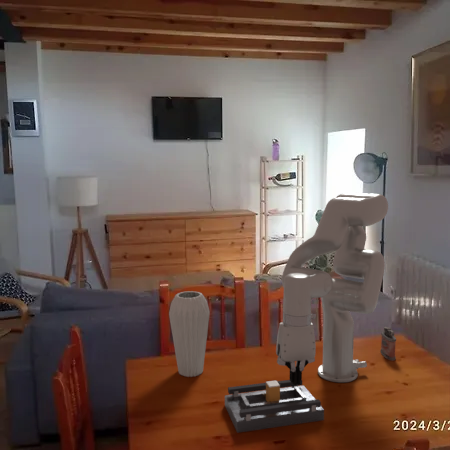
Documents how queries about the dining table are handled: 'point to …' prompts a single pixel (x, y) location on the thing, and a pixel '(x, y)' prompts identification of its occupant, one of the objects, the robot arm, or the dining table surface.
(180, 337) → the vase
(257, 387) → the pair of grey rails
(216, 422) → the dining table surface
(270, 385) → the block
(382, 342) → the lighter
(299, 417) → the panel
